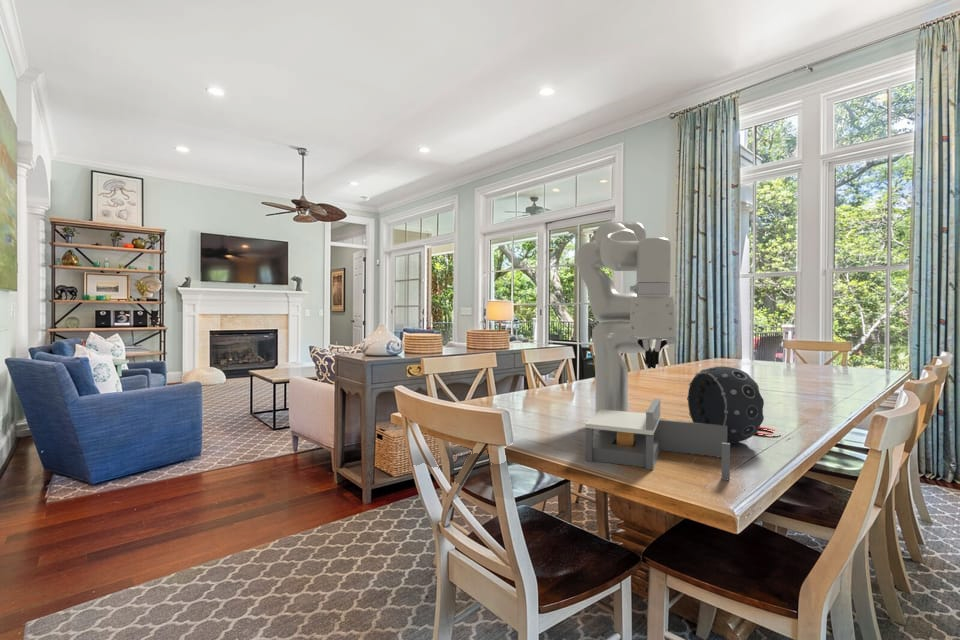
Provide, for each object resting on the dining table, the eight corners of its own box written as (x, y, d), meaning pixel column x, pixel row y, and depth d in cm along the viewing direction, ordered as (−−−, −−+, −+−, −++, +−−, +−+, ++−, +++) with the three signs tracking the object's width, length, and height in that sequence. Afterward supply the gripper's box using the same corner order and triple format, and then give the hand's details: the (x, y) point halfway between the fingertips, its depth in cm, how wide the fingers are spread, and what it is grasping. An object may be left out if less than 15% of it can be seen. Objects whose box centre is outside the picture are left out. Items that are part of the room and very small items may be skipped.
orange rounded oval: (615, 450, 118) (617, 423, 117) (632, 452, 117) (634, 424, 116) (616, 455, 114) (617, 427, 113) (633, 457, 113) (635, 428, 112)
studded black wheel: (728, 453, 116) (728, 372, 115) (683, 432, 135) (684, 362, 135) (768, 451, 117) (769, 371, 116) (718, 430, 137) (719, 362, 136)
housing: (600, 441, 126) (600, 413, 126) (726, 457, 113) (727, 425, 113) (585, 460, 111) (585, 428, 110) (729, 480, 98) (730, 444, 97)
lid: (600, 413, 126) (600, 394, 126) (660, 418, 119) (660, 398, 119) (585, 427, 110) (585, 406, 110) (653, 435, 104) (653, 412, 104)
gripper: (618, 290, 111) (617, 367, 112) (687, 290, 105) (685, 371, 106) (622, 291, 118) (622, 363, 119) (687, 290, 112) (686, 367, 113)
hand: (651, 367), depth 113 cm, fingers closed
